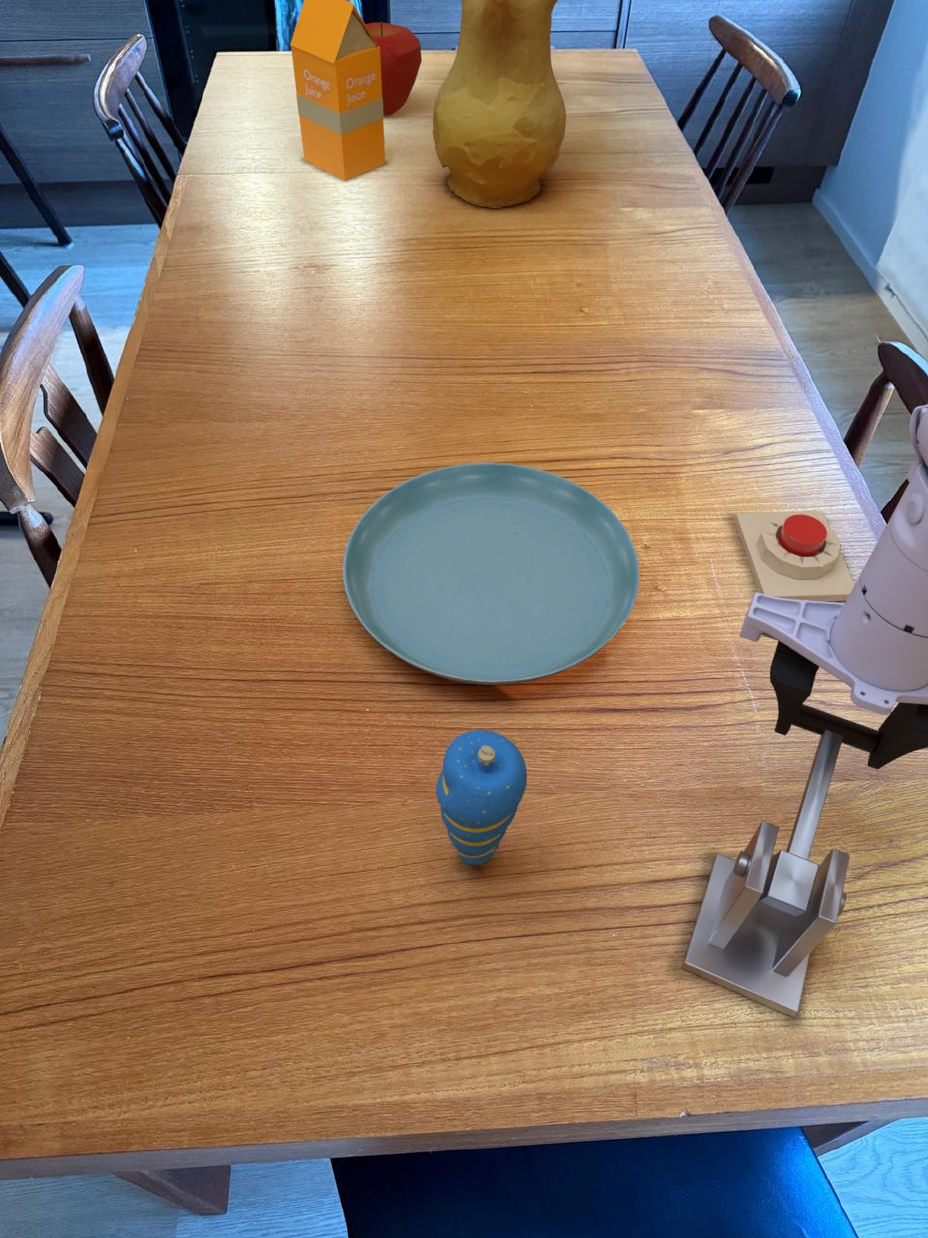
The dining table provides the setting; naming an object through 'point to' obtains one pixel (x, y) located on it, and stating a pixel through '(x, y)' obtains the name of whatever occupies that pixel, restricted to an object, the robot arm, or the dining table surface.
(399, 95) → the apple
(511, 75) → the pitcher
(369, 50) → the orange juice
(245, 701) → the dining table surface
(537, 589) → the teal plate
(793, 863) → the lever
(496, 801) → the ornament
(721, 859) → the bracket
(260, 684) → the dining table surface
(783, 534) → the button
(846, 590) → the button block
